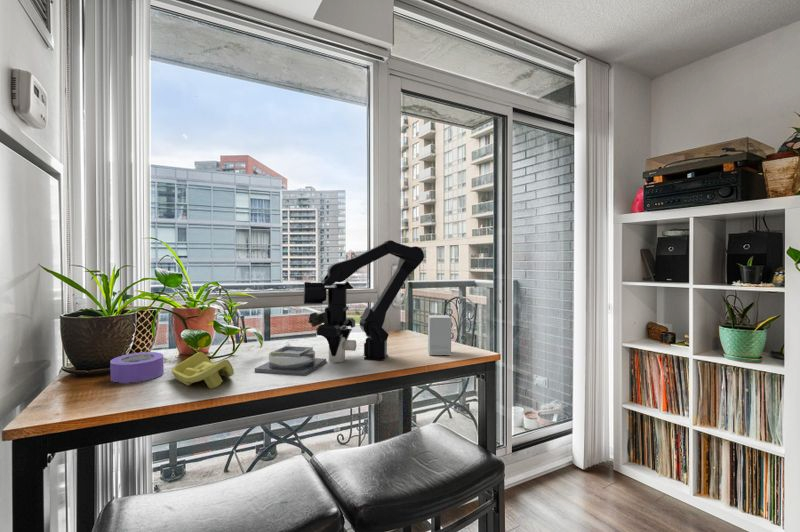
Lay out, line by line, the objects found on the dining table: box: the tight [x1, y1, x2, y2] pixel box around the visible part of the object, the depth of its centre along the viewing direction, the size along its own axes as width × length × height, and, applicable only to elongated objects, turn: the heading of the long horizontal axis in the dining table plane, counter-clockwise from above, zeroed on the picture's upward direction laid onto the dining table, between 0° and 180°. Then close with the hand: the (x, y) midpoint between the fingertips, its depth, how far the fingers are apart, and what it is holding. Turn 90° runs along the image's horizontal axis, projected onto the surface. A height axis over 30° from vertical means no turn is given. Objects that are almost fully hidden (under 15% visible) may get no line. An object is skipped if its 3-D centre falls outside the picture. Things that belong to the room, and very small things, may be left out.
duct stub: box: [254, 345, 327, 376], centre depth 118 cm, size 15×15×5 cm
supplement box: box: [427, 314, 452, 356], centre depth 136 cm, size 7×7×13 cm
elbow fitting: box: [328, 337, 357, 364], centre depth 125 cm, size 8×5×7 cm, turn 79°
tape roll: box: [109, 351, 165, 384], centre depth 107 cm, size 12×12×5 cm
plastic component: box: [170, 351, 235, 389], centre depth 102 cm, size 20×7×10 cm
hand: (336, 354), depth 126 cm, fingers closed on elbow fitting, 5 cm apart
